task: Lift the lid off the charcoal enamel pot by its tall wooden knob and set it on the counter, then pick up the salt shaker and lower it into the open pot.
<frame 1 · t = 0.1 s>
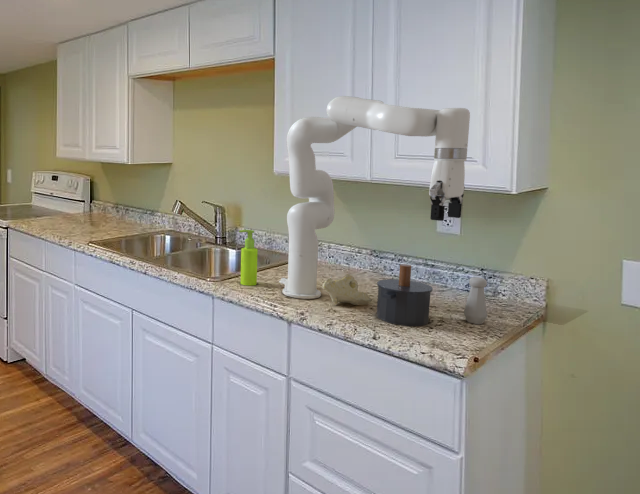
hand: (445, 218, 149), 31 cm above the worktop, tool pointing down, fingers open, 9 cm apart
lid: (404, 287, 161), point 9 cm above the worktop, touching pot
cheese: (343, 305, 176), on the worktop
pot: (402, 318, 163), on the worktop
salt shaker: (474, 322, 160), on the worktop
soap dispenser: (247, 284, 203), on the worktop
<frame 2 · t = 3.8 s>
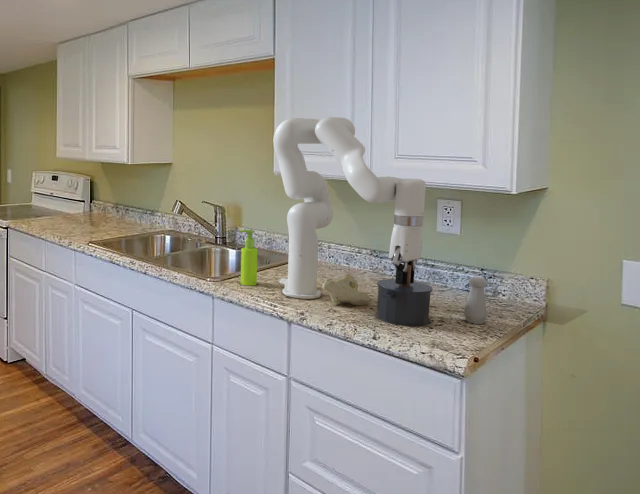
hand: (404, 282, 161), 11 cm above the worktop, tool pointing down, fingers closed on lid, 3 cm apart
lid: (404, 287, 161), point 10 cm above the worktop, touching gripper, pot
everything else where it was.
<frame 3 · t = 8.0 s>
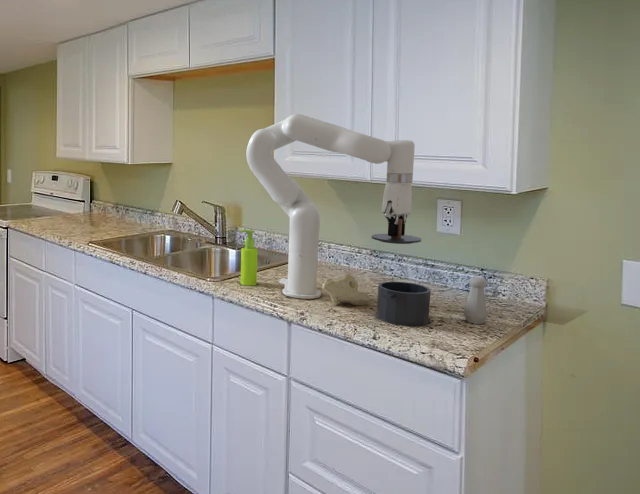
hand: (396, 235, 178), 22 cm above the worktop, tool pointing down, fingers closed on lid, 3 cm apart
lid: (395, 239, 179), point 21 cm above the worktop, touching gripper
everything else where it was.
when the fingers open (2 cm above the worktop, at t = 12.4 s): lid stays where it is, point 1 cm above the worktop.
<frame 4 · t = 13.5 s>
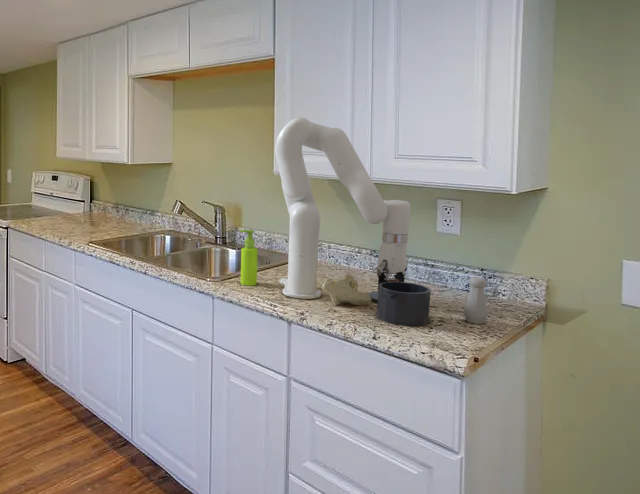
hand: (390, 289, 181), 4 cm above the worktop, tool pointing down, fingers open, 9 cm apart
lid: (392, 298, 181), point 1 cm above the worktop
everything else where it was.
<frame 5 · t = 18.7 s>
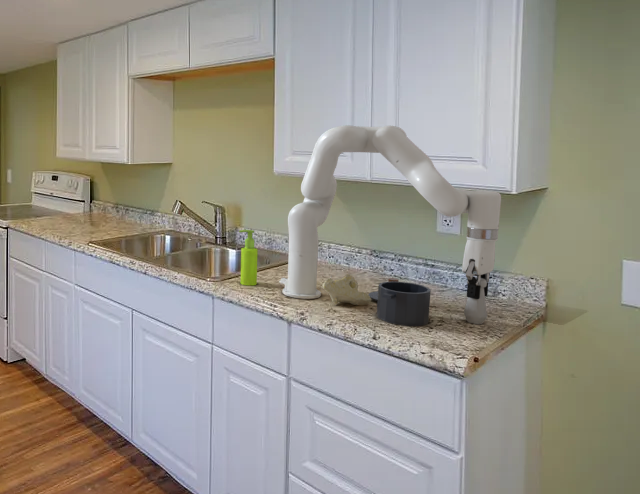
hand: (477, 296, 159), 8 cm above the worktop, tool pointing down, fingers closed on salt shaker, 4 cm apart
salt shaker: (474, 322, 160), on the worktop, touching gripper
everything else where it was.
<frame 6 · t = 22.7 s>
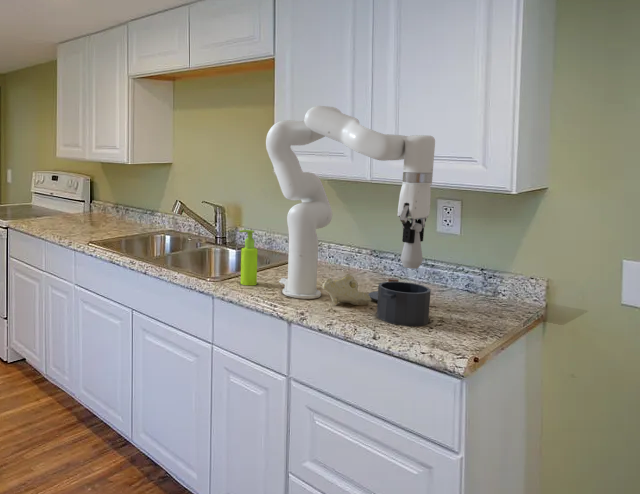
hand: (412, 241, 160), 23 cm above the worktop, tool pointing down, fingers closed on salt shaker, 4 cm apart
salt shaker: (410, 267, 161), point 15 cm above the worktop, touching gripper
everything else where it was.
when the fingers open (8 cm above the worktop, at t = 26.5 s): salt shaker stays where it is, resting on pot.
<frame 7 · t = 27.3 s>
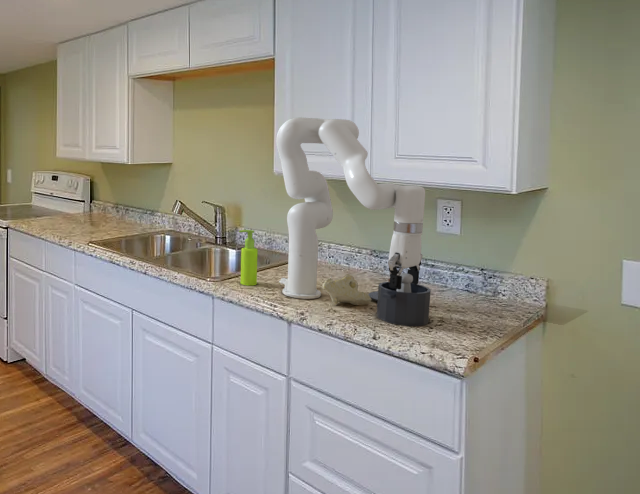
hand: (403, 285, 161), 10 cm above the worktop, tool pointing down, fingers open, 9 cm apart
salt shaker: (402, 317, 163), resting on pot
everything else where it was.
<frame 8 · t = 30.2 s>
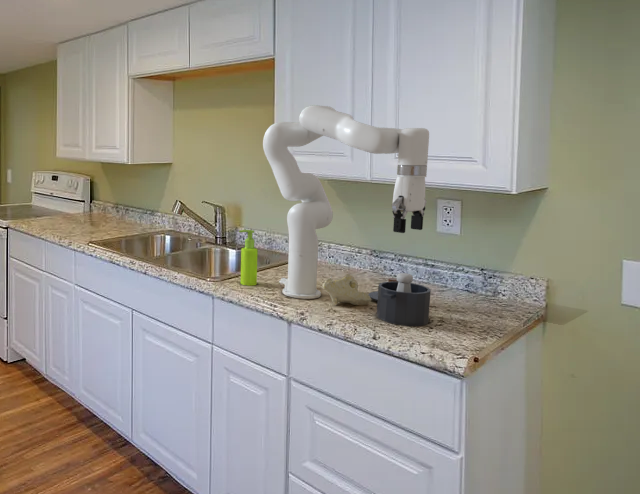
hand: (407, 230, 159), 26 cm above the worktop, tool pointing down, fingers open, 9 cm apart
nothing on the worktop moved.
at the end: lid inside the target area (0.2 cm from its centre), point 0.6 cm above the worktop; salt shaker inside the target area in the pot (0.0 cm from its centre), point 0.3 cm above the pot's base; the gripper is holding nothing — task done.
